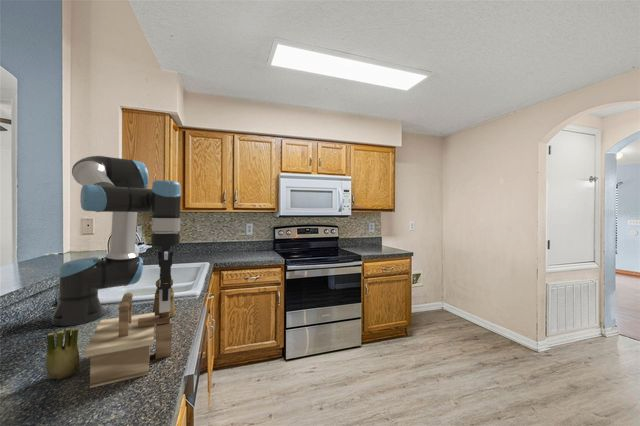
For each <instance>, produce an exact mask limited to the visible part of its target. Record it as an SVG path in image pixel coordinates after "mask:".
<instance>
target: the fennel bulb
mask: <svg viewBox="0 0 640 426" xmlns="http://www.w3.org/2000/svg"><path fill="white" fill-rule="evenodd" d="M54 334H55V333H54V332H50V333H48V334H47V335H46V340H47V343H46V344H47V346H46V347H47V350H46V358H45V369H46V372H47V374H48V376H49V379H51V380H52V379H53V380H57V381H58V380H64V379H67V378H70V377H71V376H73V375H74V374H75V373H76V372H77V370H78V369H79V366H80V361H81V360H80V351H79V345H78V339H79V338H78V336H79V328H76V327H75V328H65V331H64V330H60V331H57V332H56V340H55V335H54ZM64 334H65V335H64ZM55 341H56V342H55Z"/></svg>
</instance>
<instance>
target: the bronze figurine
mask: <svg viewBox="0 0 640 426" xmlns="http://www.w3.org/2000/svg"><path fill="white" fill-rule="evenodd" d="M159 284H160V278H159V279H157V280H156V281H155V286H156V290H155V293H154V301H153V307H152V312H151V313H155V316H159V290H157V287H159ZM173 285H174V279H172V278H171V298H170V312H169V314H170V319H172V318H174V317H175V316H176V315H177V312H176V306H175V307H174V303H175V300H174V296H175V292H174V290H173V289H174V288H173Z"/></svg>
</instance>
